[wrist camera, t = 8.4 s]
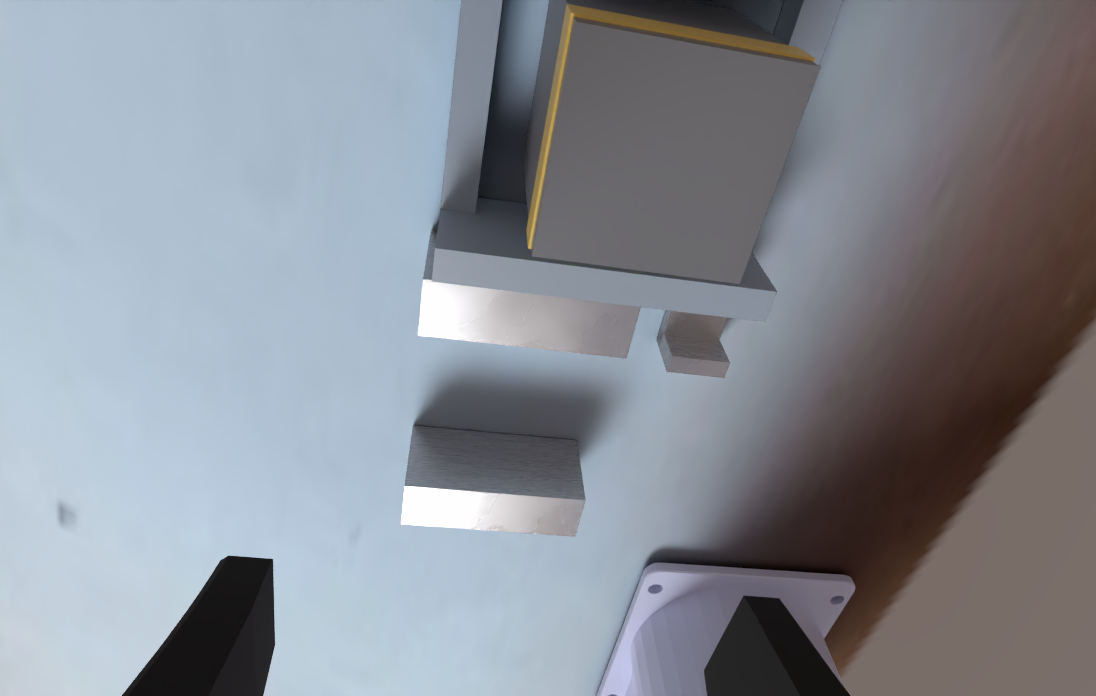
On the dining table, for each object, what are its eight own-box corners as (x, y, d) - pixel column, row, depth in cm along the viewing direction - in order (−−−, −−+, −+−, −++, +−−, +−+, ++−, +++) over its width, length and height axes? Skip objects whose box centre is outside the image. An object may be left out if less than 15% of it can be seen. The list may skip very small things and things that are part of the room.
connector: (684, 186, 18) (740, 287, 14) (520, 161, 17) (528, 258, 13) (737, 8, 16) (824, 63, 11) (551, -29, 15) (573, 17, 11)
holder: (730, 261, 19) (765, 321, 17) (440, 222, 18) (431, 282, 15) (844, -66, 15) (914, -49, 12) (476, -143, 14) (472, -142, 11)
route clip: (710, 346, 21) (724, 377, 19) (656, 340, 20) (666, 371, 19) (737, 272, 19) (753, 301, 18) (679, 265, 19) (692, 293, 18)
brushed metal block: (567, 475, 23) (575, 536, 21) (409, 462, 22) (400, 524, 20) (624, 256, 19) (641, 305, 17) (430, 230, 18) (423, 279, 16)
